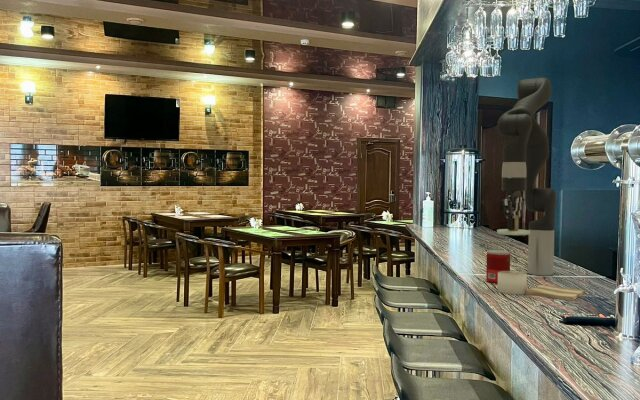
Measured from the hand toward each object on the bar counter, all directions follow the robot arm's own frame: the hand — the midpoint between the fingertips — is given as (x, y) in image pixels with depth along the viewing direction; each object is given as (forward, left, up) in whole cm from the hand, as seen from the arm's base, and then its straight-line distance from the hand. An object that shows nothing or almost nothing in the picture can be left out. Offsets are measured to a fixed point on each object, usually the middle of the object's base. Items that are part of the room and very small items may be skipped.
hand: (513, 229), depth 180 cm
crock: (0, 0, -21) cm, 21 cm away
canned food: (-13, -10, -21) cm, 26 cm away
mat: (-6, +12, -21) cm, 25 cm away
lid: (0, 0, -2) cm, 2 cm away
